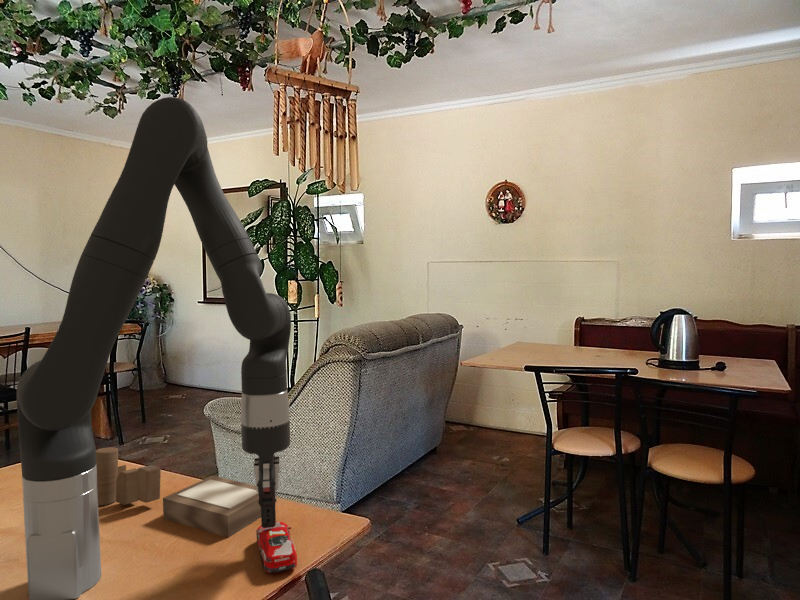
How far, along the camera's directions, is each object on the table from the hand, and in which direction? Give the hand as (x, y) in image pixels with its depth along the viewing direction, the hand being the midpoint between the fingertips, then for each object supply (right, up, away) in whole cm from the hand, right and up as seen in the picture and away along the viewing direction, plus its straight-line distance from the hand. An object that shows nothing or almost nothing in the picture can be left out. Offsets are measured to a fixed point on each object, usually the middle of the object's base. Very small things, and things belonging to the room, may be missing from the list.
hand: (268, 524), depth 89 cm
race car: (-1, -6, +2) cm, 7 cm away
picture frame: (-12, -4, +14) cm, 19 cm away
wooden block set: (-34, -4, +20) cm, 40 cm away
